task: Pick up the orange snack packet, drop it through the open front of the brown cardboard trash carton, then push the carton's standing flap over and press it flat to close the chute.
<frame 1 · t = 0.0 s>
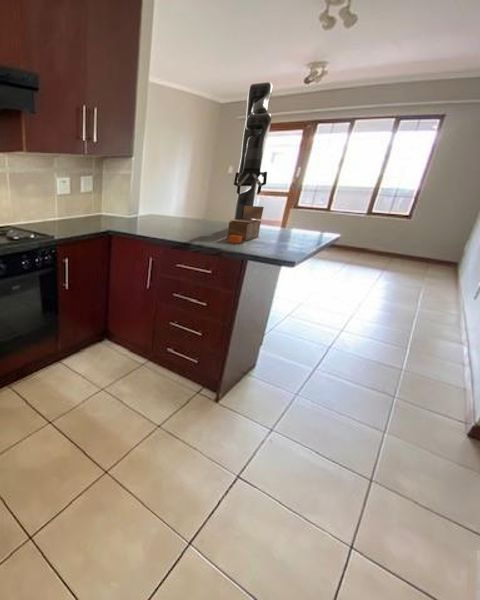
hand: (248, 194, 165), 22 cm above the countertop, tool pointing down, fingers open, 8 cm apart
carton: (242, 237, 176), on the countertop
flap: (252, 212, 176), point 12 cm above the countertop, hinge at 95.0°
packet: (234, 242, 167), on the countertop
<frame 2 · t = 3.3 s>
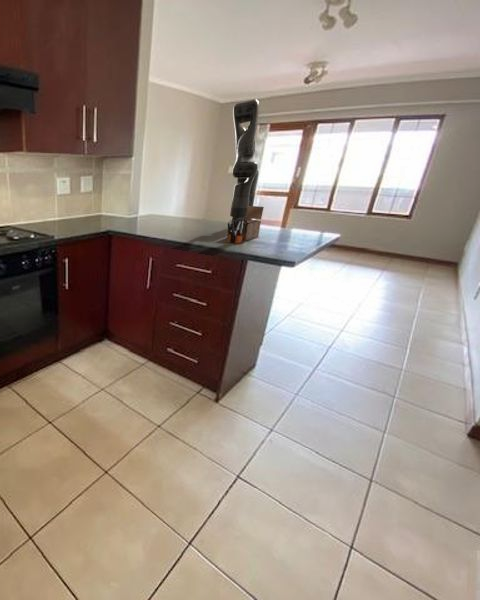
hand: (234, 241, 167), 0 cm above the countertop, tool pointing down, fingers closed on packet, 4 cm apart
packet: (234, 242, 167), on the countertop, touching gripper
everything else where it was.
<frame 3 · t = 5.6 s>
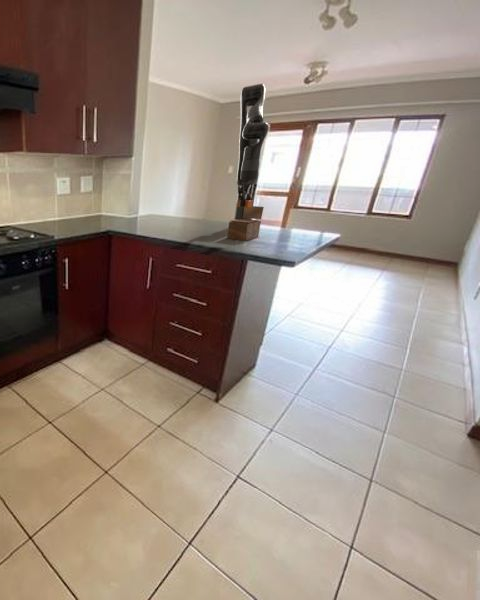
hand: (244, 206, 166), 17 cm above the countertop, tool pointing down, fingers closed on packet, 4 cm apart
packet: (244, 206, 166), point 16 cm above the countertop, touching gripper
everything else where it was.
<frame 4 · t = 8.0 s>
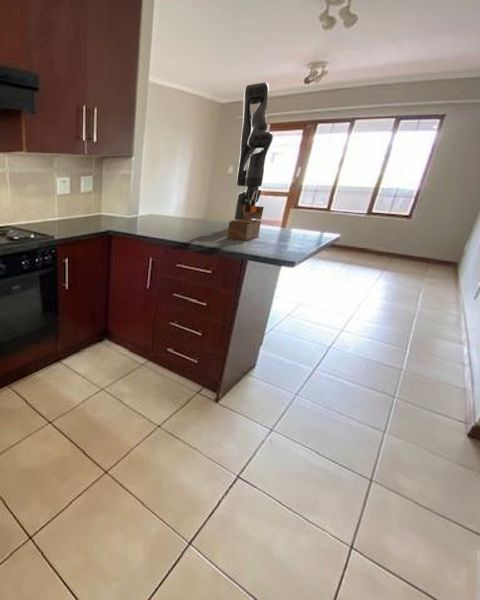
hand: (249, 211, 173), 13 cm above the countertop, tool pointing down, fingers closed on packet, 4 cm apart
flap: (252, 212, 176), point 12 cm above the countertop, hinge at 95.0°, touching gripper
packet: (249, 211, 173), point 13 cm above the countertop, touching gripper
when the fingers open (13 cm above the countertop, at t = 8.0 s): packet drops 12 cm, resting on carton.
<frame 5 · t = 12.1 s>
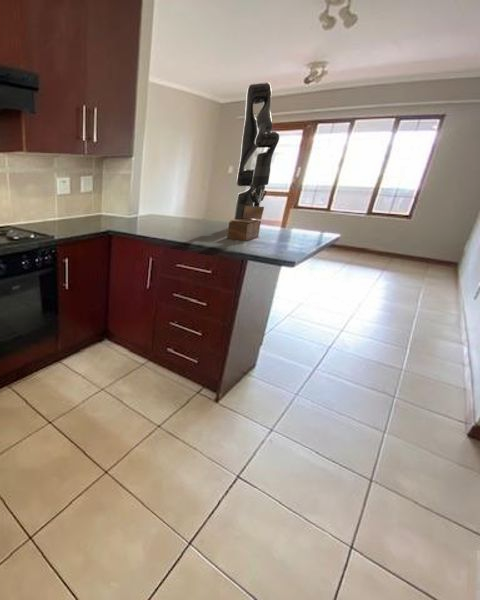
hand: (255, 209, 177), 13 cm above the countertop, tool pointing down, fingers closed
flap: (253, 212, 176), point 12 cm above the countertop, hinge at 99.6°, touching gripper
packet: (245, 235, 178), resting on carton
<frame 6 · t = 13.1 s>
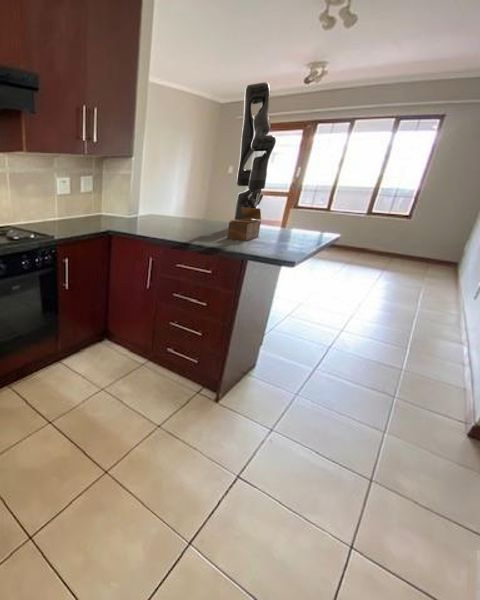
hand: (252, 213, 176), 12 cm above the countertop, tool pointing down, fingers closed
flap: (251, 213, 175), point 12 cm above the countertop, hinge at 64.1°, touching gripper
everything else where it was.
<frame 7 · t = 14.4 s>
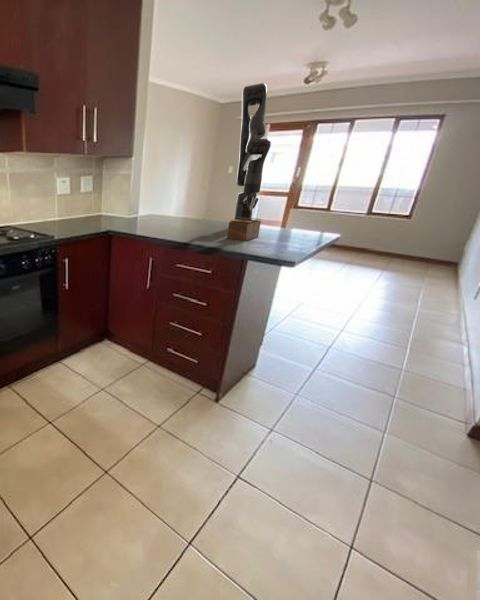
hand: (247, 217, 174), 10 cm above the countertop, tool pointing down, fingers closed
flap: (248, 218, 175), point 10 cm above the countertop, hinge at 9.4°, touching gripper
everything else where it was.
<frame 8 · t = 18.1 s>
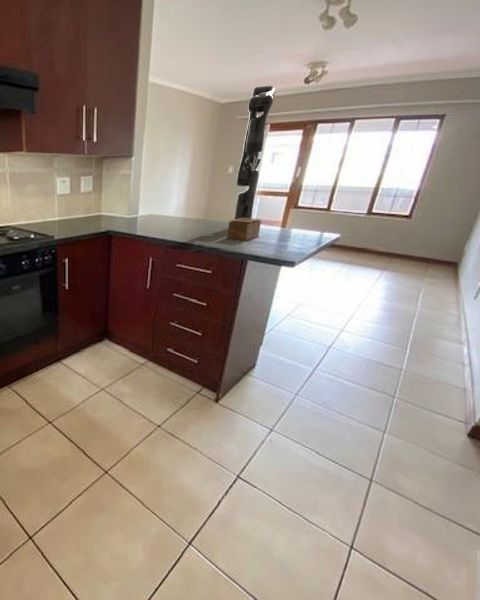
hand: (249, 178, 172), 29 cm above the countertop, tool pointing down, fingers closed
flap: (248, 219, 175), point 9 cm above the countertop, hinge at 1.3°
everything else where it was.
at the end: packet inside the target area in the carton (3.1 cm from its centre), point 0.5 cm above the carton's base; flap at +1° (first picture: +95°); the gripper is holding nothing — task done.
